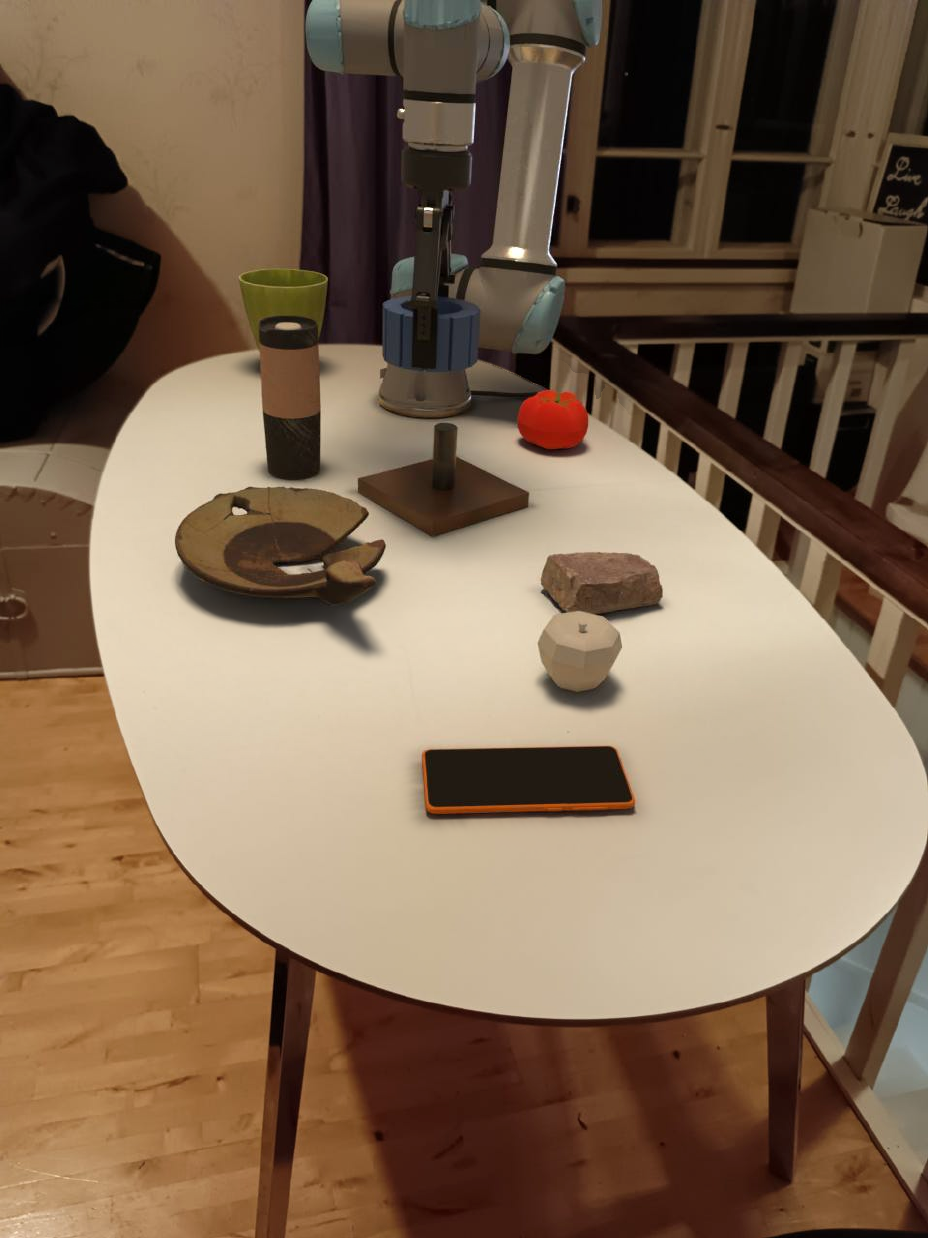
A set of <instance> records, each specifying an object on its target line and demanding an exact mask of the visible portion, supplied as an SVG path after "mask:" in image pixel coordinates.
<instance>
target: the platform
mask: <svg viewBox="0 0 928 1238" xmlns="http://www.w3.org/2000/svg"><path fill="white" fill-rule="evenodd" d="M458 430H459V428H458V425H457V424H454V423H451V422H438V423H435V424H434V425H433V438H432V439H433V440H432V441H433V443H432V458H431V459H427V460H423V461H419V462H416V463H411V464H407V465H403V466H400V467H396V468H391V469H387V470H384V471H379V472H375V473H373V474H368V475H365V476H360V477H357V493H358V494H361V495H362V496H364V497H365V498H367V499H369V500H370V501H372V502H374V503H375V504H377V505H379V506H381V507H382V508H383V509H385V510H387V511H388V512H391V513H392V514H394V515H396V516H397V517H399V518H401V519H402V520H404V521H406V522H408V523H409V524H410V525H412V526H414V527H416V528H418V529H419V530H421V531H422V532H424V533H426V534H427V535H429V536H431V537H435V536H439V535H441V534H442V535H443V534H445V533H448V532H451V531H455V530H457V529H461V528H464V527H467V526H471V525H474V524H477V523H480V522H483V521H486V520H489V519H490V520H491V519H493V518H496V517H499V516H502V515H505V514H509V513H512V512H516V511H518V510H521V509H524V508H527V507H529V500H530V492H529V491H527V490H525V489H523V488H521V487H519V486H518V485H517V486H516V485H515V484H513V483H511V482H509V481H507V480H505V479H503V478H501V477H498V476H497V475H495V474H493V473H491V472H489V471H487V470H485V469H484V468H483V469H482V468H481V467H479V466H477V465H474V464H472V463H471V462H469V461H466V460H465V459H462V458H461V457H458V456H457V447H458Z"/></svg>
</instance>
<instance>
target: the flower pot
mask: <svg viewBox="0 0 928 1238" xmlns="http://www.w3.org/2000/svg"><path fill="white" fill-rule="evenodd" d="M328 282H329V278H328V277H327V276H326V275H325V274H323V273H320V272H318V271H317V272H316V271H313V270H312V271H311V270H306V269H295V268H265V269H262V268H261V269H256V270H250V271H246V272H242V273H241V274H240V275H239V276H238V283H239V288H240V292H241V297H242V302H243V305H244V310H245V313H246V318H247V320H248V323H249V327H250V330H251V333H252V336H253V339H254V341H255V345H256V347H257V350H258V352H259V353H260V346H259V327H258V323H259V321H260V320H261V319H264V318H267V317H272V316H283V315H290V316H302V317H307V318H311V319H313V320H315V321H316V322H317V324H318V341H319V340H320V336H321V331H322V326H323V321H324V316H325V311H326V310H325V309H326V301H327V291H328Z"/></svg>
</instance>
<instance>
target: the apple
mask: <svg viewBox="0 0 928 1238" xmlns="http://www.w3.org/2000/svg"><path fill="white" fill-rule="evenodd" d="M537 647H538V652H539V656H540V657H539V658H540V661H541V663H542V665H543V667H544V669H545V671H546V673H547V675H549V677H550V678H551V680H552V681H553V682H554V684H556V686H557V687H559V688H560V689H564V690H566V691H571V692H574V693H580V692H584V691H585V692H586V691H590V690H593V689H595V688H597V687H599V685H600V684H601V683H602V682H603V681H604V680H606V678H607V676H608V674H609V673H610V671H611V669H612V668H613V666H614V663H615V662H616V660H617V658H618V656H619V654H620V652H621V650H622V648H623V644H622V637H621V633H620V631H619V630H618V629H617V628H616V626H613V624H612V623H611V622H610V621H609V620H608V619H607V618H606V617H605V616H601V615H598V614H596V615H594V614H590V613H586V612H582V611H574V612H568V613H567V612H563V613H557V614H554V615H552V616H551V618H550V620H549V621H548V622H547V624H546V625H545V627H544V628H543V630H542V632H541V634H540V637H539V639H538V641H537Z"/></svg>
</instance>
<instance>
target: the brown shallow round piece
mask: <svg viewBox="0 0 928 1238" xmlns="http://www.w3.org/2000/svg"><path fill="white" fill-rule="evenodd" d="M234 508H237V509H238V510H240V509H242V510H244V511H245V512H246V513H244V514H237V515H236V514H234V513H233V509H234ZM369 515H370V512H369V510H368V509H367V508H366V507H365V506H362V505H360V504H359V503H358V502H356V501H354V500H352V499H351V498H347V497H343V496H342V495H339V494H337V493H335V492H332V491H327V490H322V489H317V488H308V487H307V488H306V487H303V488H301V487H293V486H292V487H291V486H290V487H285V486H274V487H271V486H267V487H256V486H247V487H245V488H243V489H239V490H237V491H235V492H232V491H231V492H227V493H222V492H220V493H217V494H216V495H215V496H213V498H212V499H211V500H209V501H207V502H205V503H203V504H201V505H199V506H198V507H196V508H195V509H193V510H192V511H191V512H189V513H187V515H186V516H185V517H184V518H183V519H182V520H181V522H180V524H179V525H178V527H177V529H176V531H175V535H174V546H175V551H176V553H177V556H178V558H179V559H180V561H181V563H182V564H183V566H185V567H186V569H187V570H188V571H189V572H190V573H191V574H192V575H194V576H195V577H197V578H198V579H200V580H201V581H202V582H204V583H206V584H208V585H211V586H213V587H216V588H217V589H221V590H225V591H226V592H227V591H228V592H231V593H234V594H238V595H239V594H240V595H244V596H245V595H246V596H251V597H259V598H284V599H285V598H286V599H288V598H291V599H292V598H294V599H296V598H297V599H301V598H310V597H313V598H318V599H320V600H323V601H324V602H325V603H328V604H329V605H331V606H342V605H345V604H349V602H351V601H352V600H354V599H355V598H357V597H358V596H361V595H363V594H365V593H366V592H368V591H370V590H371V589H372V588H374V587H375V586H376V585H377V581H376V579H375V578H374V577H373V576H371V575H367V573H369V572H370V571H372V570H373V569H374V568H375V567H376V566H377V565H378V564H379V562H380V561H381V559H382V557H383V556H384V554H385V550H386V548H387V544H386V542H385V540H384V539H383V538H382V539H377V540H374V541H371V542H368V541H367V542H366V543H364V544H362V545H358V546H353V547H350V548H347V549H344V550H339V551H336V552H333V553H330V552H331V551H333V550H334V548H335V547H336V546H338V545H340V544H341V543H343V542H344V541H345V540H346V539H347V537H349V536H350V535H351V534H352V533H353V532H354V531H355V530H356V529H358V528H359V527H360V526H361V525H362V524H363V523H364V522H365V521H366V520H367V518H368V517H369ZM320 558H321V561H322V564H323V566H324V568H325V569H321V570H317V571H313V570H312V569H311V568H309V567H307V569H308V570H310V571H311V572H301V573H296V574H295V573H293V574H291V573H287V572H285V571H284V570H283V569H282V568H281V567H278V566H277V565H275V564H276V563H277V564H278V563H280V564H282V563H300V562H308V561H312V560H314V559H320Z"/></svg>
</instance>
